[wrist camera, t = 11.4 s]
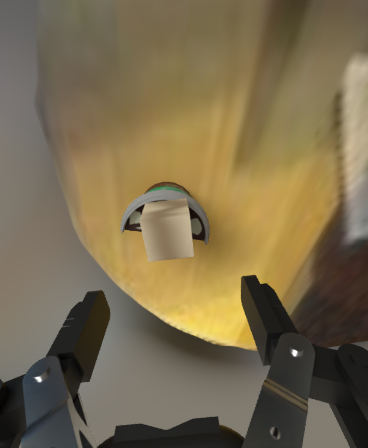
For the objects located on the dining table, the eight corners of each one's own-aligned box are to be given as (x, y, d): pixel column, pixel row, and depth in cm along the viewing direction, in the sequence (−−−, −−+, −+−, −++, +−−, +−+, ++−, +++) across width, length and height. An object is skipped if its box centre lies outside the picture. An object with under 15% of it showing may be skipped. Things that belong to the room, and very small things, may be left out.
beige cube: (186, 198, 25) (189, 215, 21) (190, 234, 28) (194, 256, 23) (145, 202, 25) (139, 221, 21) (152, 238, 28) (148, 261, 23)
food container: (209, 181, 35) (222, 203, 26) (201, 215, 38) (210, 245, 29) (134, 168, 33) (119, 186, 24) (131, 204, 36) (117, 233, 27)
